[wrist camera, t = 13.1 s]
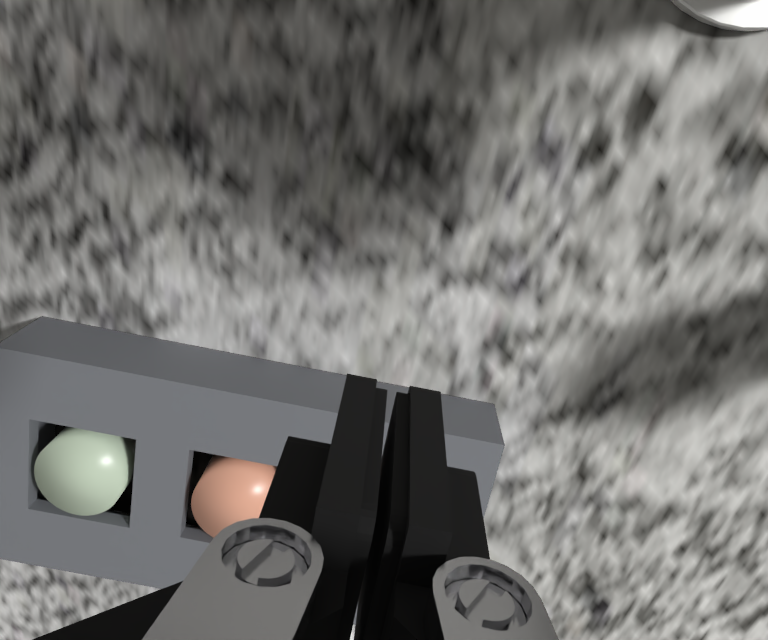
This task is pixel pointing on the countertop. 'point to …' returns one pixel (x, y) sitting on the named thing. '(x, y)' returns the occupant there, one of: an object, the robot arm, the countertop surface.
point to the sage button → (85, 470)
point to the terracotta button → (230, 492)
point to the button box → (167, 438)
